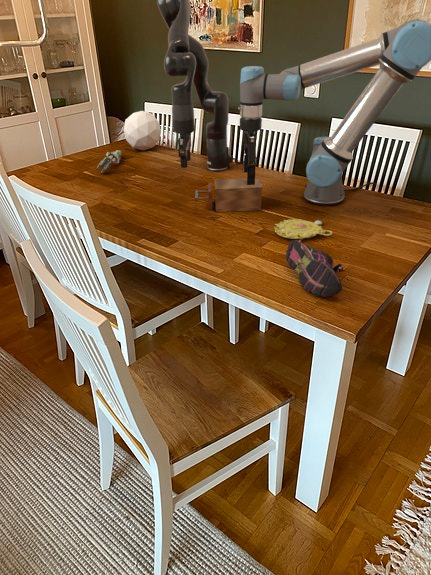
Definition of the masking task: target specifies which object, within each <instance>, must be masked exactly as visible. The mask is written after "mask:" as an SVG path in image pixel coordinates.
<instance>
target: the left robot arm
mask: <svg viewBox="0 0 431 575" xmlns="http://www.w3.org/2000/svg"><path fill="white" fill-rule="evenodd" d="M191 4H192V3H191V0H156V5H157V8H158V10H159V13H160V15H161V17H162V19H163V21H164V23H165V26H166V27H167V29H168V33H167V46H168V48H167V50H166V53H165V56H164V60H163V69H164V72H165V74H166V75H167V76H169V77H173V78H176V77H185V79H184V81H183V82H180V83H176V84H174V85H172V86H171V90H170V91H171V116H172V118H171V119H172V131H173V132H174V133H176V134H179V137H178V138H177V145H178V146H177V151H178V153H177V154H178V157H179V158H180V167H181V169H187V168H188V162H189V161H191V160H192V159H191V150H192V136H191V135H192V134H191V133H194V132H195V130H196V128H195V110H194V100H193V99H194V98H193V86H194V88H195V91H196V94H197V98H198V101H199V104H200V106H201V108H202V110H203V112H204V113H207V114H209V115H214V116H213V120H212V121H210V122H207V123H206V125H205V128H206V129H205V134H206V158H207V159H206V165H207V166H206V167H207V170H208V171H212V172H223V171H226V170H227V169H229V168H230V164H233V162H234V161H235V162H236V164H239V165H240V164H244V160H243V161H238V159H237V158H235V157H233V156H232V155H231V154H230V148H229V146H228V124H229V112H230V109H229V108H230V102H229V101H230V100H229V96H228V94H227V93H226V92H223V91H218V90H217V91H216V90H213V89H212V88H211V87H210V83H209V81H208V74H209V69H210V62H209V58H208V56H207V52H206V51H205V48H204V46H203V44H202V43H201V42H200V41H198V40H197V39H196V38H194V36H192V35H191V34H189V28H190V22H191V15H192V5H191ZM233 160H234V161H233ZM258 160H260V158H259V157H257V156H256V161H258Z"/></svg>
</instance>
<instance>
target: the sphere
mask: <svg viewBox="0 0 431 575" xmlns="http://www.w3.org/2000/svg"><path fill="white" fill-rule="evenodd" d="M124 120H125V121H124V126H123V134H124V139H125V140H126V142H127V143H128V144H129V145H130V146H131V147H132V148H133V149H136V150H140V151H146V150H149V149H152V148H154V147H155V146H156V145H157V144H159V142H160V139H161V133H162V129H161V124H160V122H159V120H158V119H157V118H156V117H155V115H154V114H153V113H151V112H148V111H144V110H139V111H135V112H133V113H131V114H130V115H129V116H128V117H127V118H125V119H124Z"/></svg>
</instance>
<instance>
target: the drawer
mask: <svg viewBox="0 0 431 575" xmlns="http://www.w3.org/2000/svg"><path fill="white" fill-rule="evenodd" d="M207 189H208V190H199V189H196V190H195V191H194V201H196V202H197V201H199V200H201V201H202V200H208V209H209V210H213V189H212V182H208V183H207ZM199 194H208V197H199Z"/></svg>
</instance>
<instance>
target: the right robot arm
mask: <svg viewBox="0 0 431 575" xmlns="http://www.w3.org/2000/svg"><path fill="white" fill-rule="evenodd" d="M430 62H431V23H430V22H428V21H426V20H424V19H423V20H422V19H412V20H411V19H410V20H409V21H406V22H405V23H402V24H400V25H398V26H396V27H395V28H393V29H389V30H387V31H385V32H382V33H380V35H379V37H377V38H375V39H373V40H369V41H366V42H363V43H360V44H357V45H354V46H351V47H349V48H346V49H345V48H344V49H343V50H339V51H337V52H334V53H330V54H328V55H325V56H321V57H318V58H316V59H314V60H311V61H308V62H305V63H302V64H299V65H296V66H293V67H287V68H285V69H283V70H282V71H281V72H279V73H265V68H264V67H263V66H258V65H250V66H249V65H248V66H244V67H242V68H241V70H240V78H239V80H240V81H239V88H240V89H239V106H238V108H237V110H238V111H239V117H240V118H239V129H240V130H241V131H243V132H244V135H243V139H244V142H243V143H244V144H243V154H244V155H243V161H244V163H243V173H244V174H245V173H246V178H247V185H255V178H256V167H257V159H256V157H257V135H256V133H255V132H257V131H261V130H262V124H263V119H262V116H263V107H264V106H263V104H264V103H263V101H264V100H276V101H277V100H278V101H286V102H288V101H297V100H298V99H299V98H300V95H301V90H304V89H306V88H310V87H313V86H316V85H319V84H323V83H326V82H329V81H333V80H336V79H339V78H341V77H345V76H348V75H352V74H354V73H357V72H360V71H364V70H367V69H371V68H373V67H377V66H379V68H378V69H377V71H376V72H375V73H374V74H373V77H372V78H371V79H370V81H369V82H368V84H367V85H366V86H365V87H364V89H363V90H362V92H361V93H360V95H359V96H358V98H357V99H356V100H355V102H354V104H353V105H352V106H351V107H350V109H349V111H348V112H347V113H346V115H345V116H344V118H343V119H342V121H341V122H340V124H339V125H338V126H337V128H336V129H335V130H334V132H333V133H332V135H331V136H317V137H315V138H314V139H313V142H312V151H311V152H312V153H311V156H310V157H309V160H308V161H307V163H306V168H305V173H306V177H307V179H308V182H307V184H305V188H304V192H303V199H304V201H306V202H307V203H310V204H312V205H317V206H327V207H328V206H329V207H330V206H337V205H340V204H342V203H343V202H344V201H345V192H353V191H356V190H358V189H361V188H365V187H367V186H370V185H373V186H375V187H376V186H377V183H376V182H373V181H372V182H368V183H365V184H363V185H359V186H357V187H354V188H348V189H347V188H346V189H344V185H343V173H344V171H345V170H346V168H347V167H348V166H349V164H350V163H351V162H352V161H353V159H354V155H353V152H354V150H355V149H356V148H357V147H358V145H359V144H360V142H361V141H362V140H363V138H364V137H365V136H366V134H367V133H368V132H369V130H370V129H371V128H372V127H373V125H374V124H375V122H376V121H377V120H378V119H379V117H380V116H381V114H382V113H383V112H384V110H386V108H387V107H388V105H389V103H391V101H392V99H394V97H395V96H396V94H397V93H398V92H399V91H400V90H401V88H402V86H403V85H405V84H407V83H411V82H412V81H413V80H414V79H415V78H416V76H417V75H418V74H419V72H420V71H421V70H422V68H424V67H425V66H427V65H428V64H429V63H430Z"/></svg>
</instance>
